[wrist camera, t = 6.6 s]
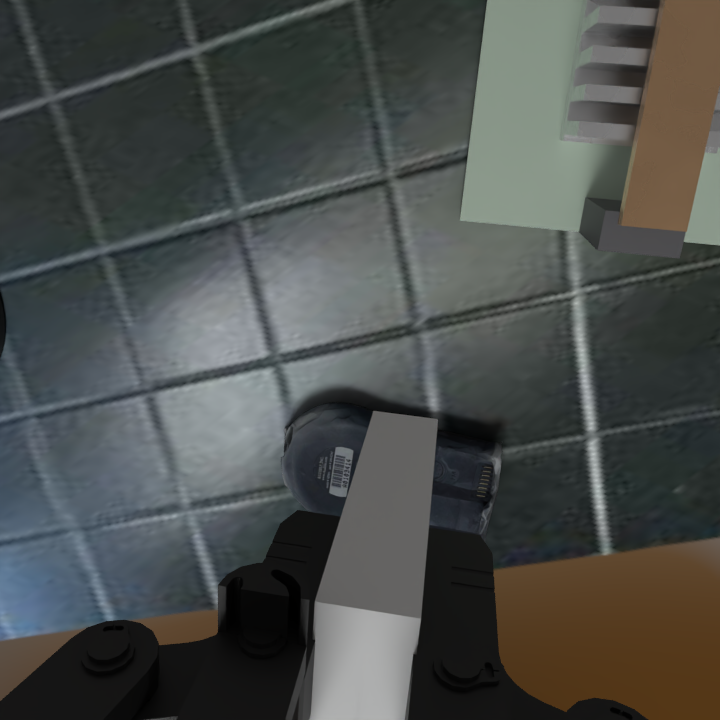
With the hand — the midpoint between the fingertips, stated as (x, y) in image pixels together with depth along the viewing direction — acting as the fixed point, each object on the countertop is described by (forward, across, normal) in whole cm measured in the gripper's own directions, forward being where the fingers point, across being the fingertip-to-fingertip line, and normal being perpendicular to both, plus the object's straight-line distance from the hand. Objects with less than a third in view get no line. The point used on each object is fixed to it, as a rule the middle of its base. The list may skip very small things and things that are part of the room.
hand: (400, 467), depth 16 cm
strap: (+21, +10, +11) cm, 26 cm away
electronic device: (+29, -2, -16) cm, 33 cm away
